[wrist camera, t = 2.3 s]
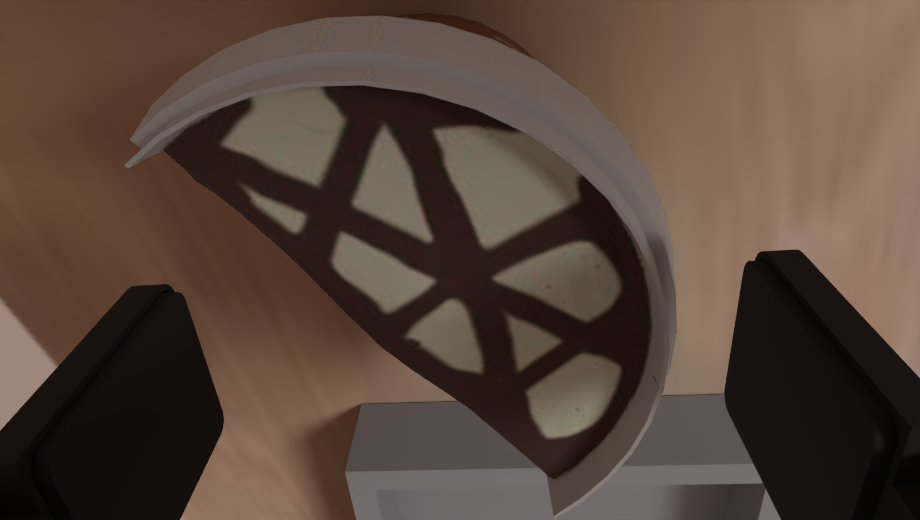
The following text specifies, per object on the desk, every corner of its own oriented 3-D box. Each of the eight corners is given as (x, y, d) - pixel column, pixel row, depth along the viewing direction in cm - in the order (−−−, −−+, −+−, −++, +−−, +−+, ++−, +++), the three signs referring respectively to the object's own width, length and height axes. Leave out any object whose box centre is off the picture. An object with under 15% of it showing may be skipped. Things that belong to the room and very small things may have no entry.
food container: (689, 185, 21) (828, 398, 12) (541, 289, 23) (570, 530, 15) (426, -146, 17) (356, -173, 8) (275, 22, 19) (94, 142, 10)
